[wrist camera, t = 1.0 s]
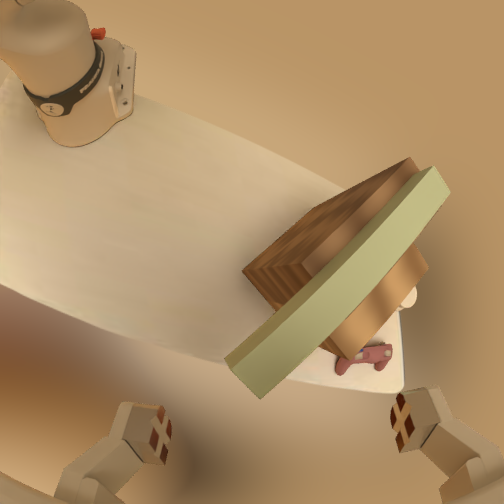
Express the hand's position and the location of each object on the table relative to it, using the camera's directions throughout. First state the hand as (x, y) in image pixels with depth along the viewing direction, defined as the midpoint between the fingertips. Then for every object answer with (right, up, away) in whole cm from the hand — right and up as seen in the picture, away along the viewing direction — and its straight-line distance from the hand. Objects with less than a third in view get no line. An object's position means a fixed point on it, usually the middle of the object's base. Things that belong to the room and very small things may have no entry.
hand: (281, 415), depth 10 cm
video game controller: (+18, -13, +42) cm, 48 cm away
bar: (+7, +4, +15) cm, 17 cm away
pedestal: (+8, +2, +41) cm, 42 cm away
